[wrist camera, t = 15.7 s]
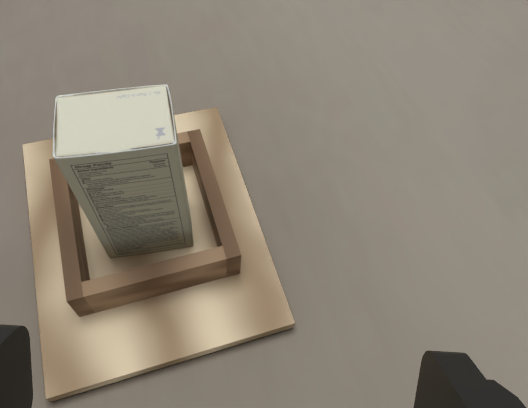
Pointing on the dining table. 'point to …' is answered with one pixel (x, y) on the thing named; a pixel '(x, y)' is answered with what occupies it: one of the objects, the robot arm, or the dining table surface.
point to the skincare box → (125, 167)
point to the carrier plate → (149, 273)
